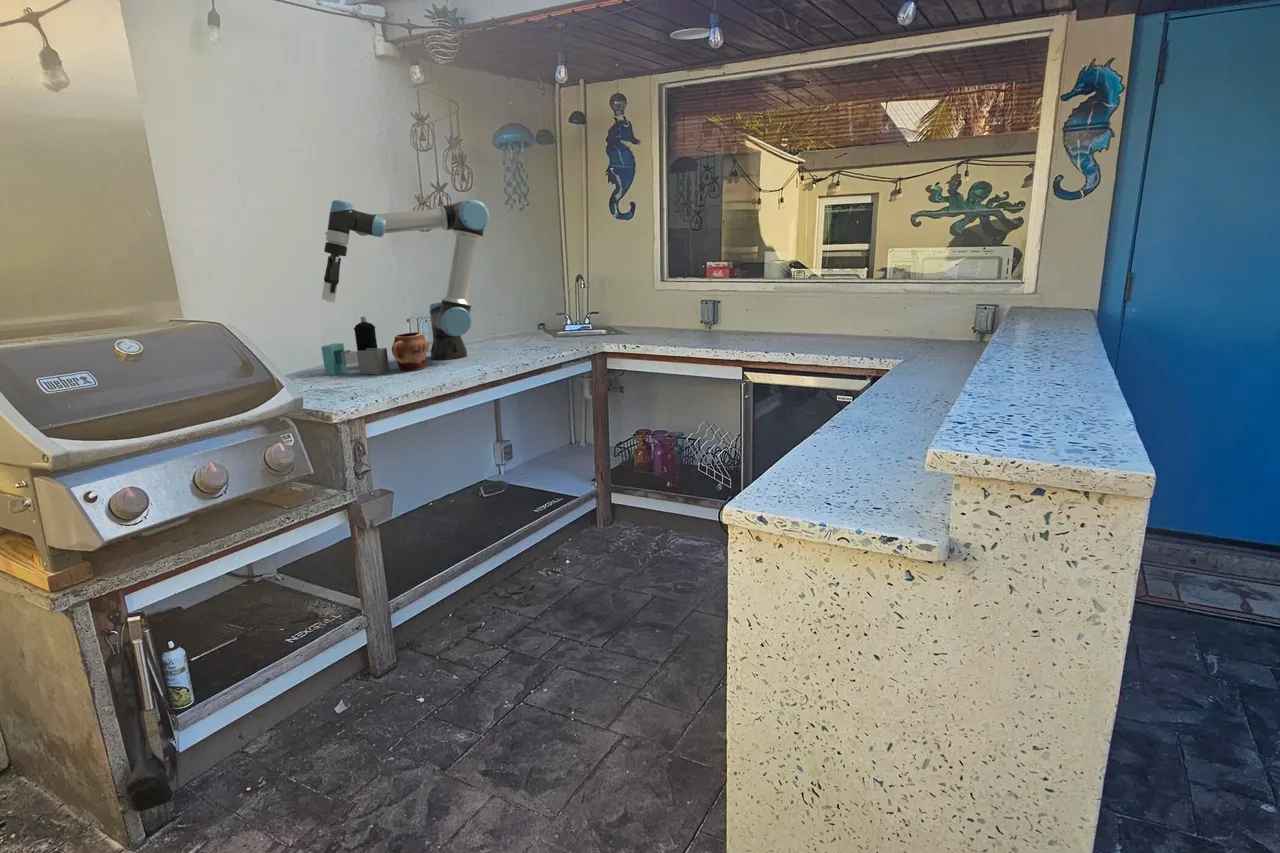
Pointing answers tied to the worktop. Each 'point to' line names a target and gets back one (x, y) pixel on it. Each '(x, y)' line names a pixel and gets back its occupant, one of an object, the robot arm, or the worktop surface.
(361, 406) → the worktop surface
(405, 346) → the decorative planter
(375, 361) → the sleeve
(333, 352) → the socket block
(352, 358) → the grey square peg
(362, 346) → the aerosol can
